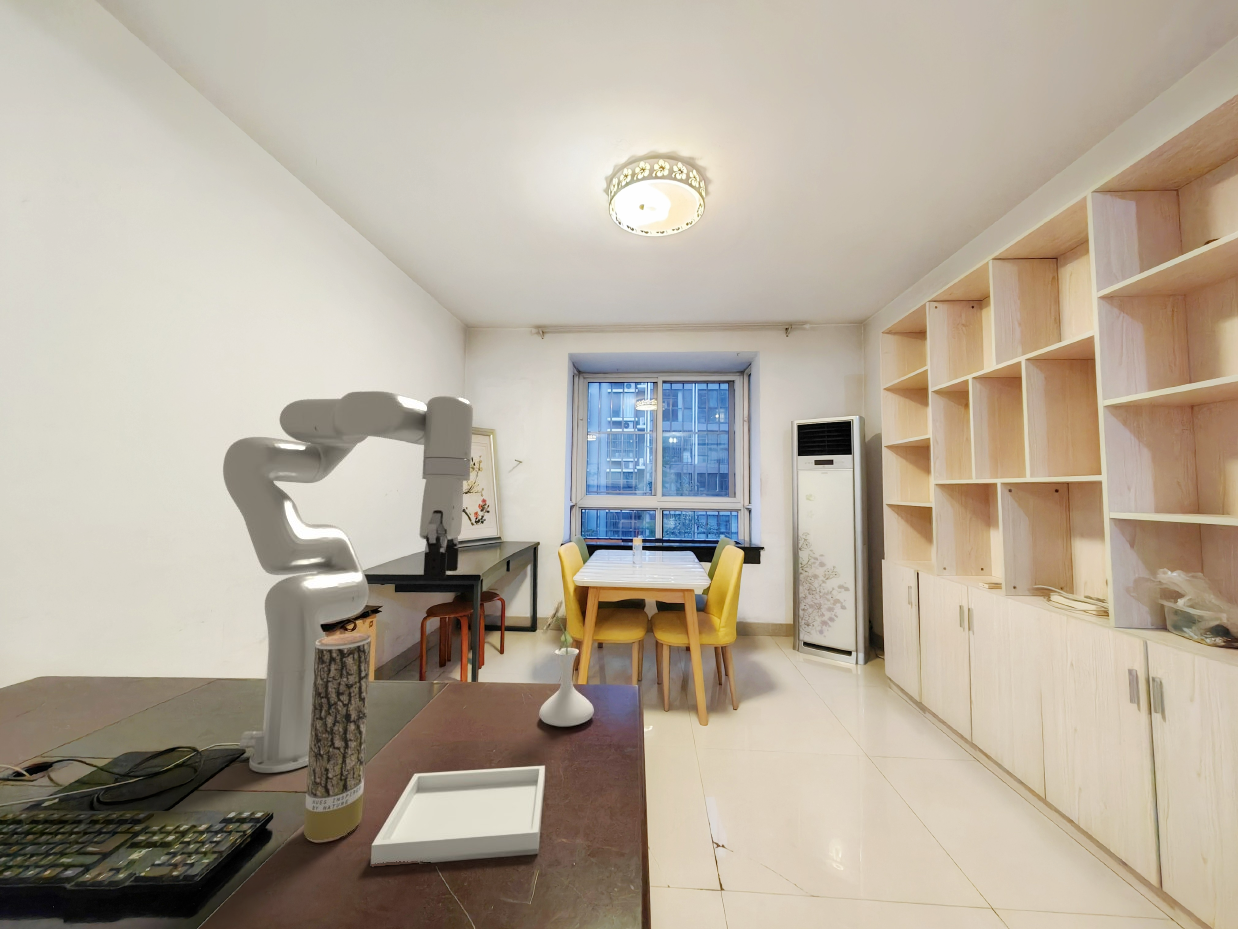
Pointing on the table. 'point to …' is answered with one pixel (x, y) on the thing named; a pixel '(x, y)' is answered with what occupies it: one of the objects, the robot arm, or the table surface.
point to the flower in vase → (565, 686)
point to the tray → (464, 816)
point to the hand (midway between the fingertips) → (441, 574)
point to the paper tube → (337, 735)
